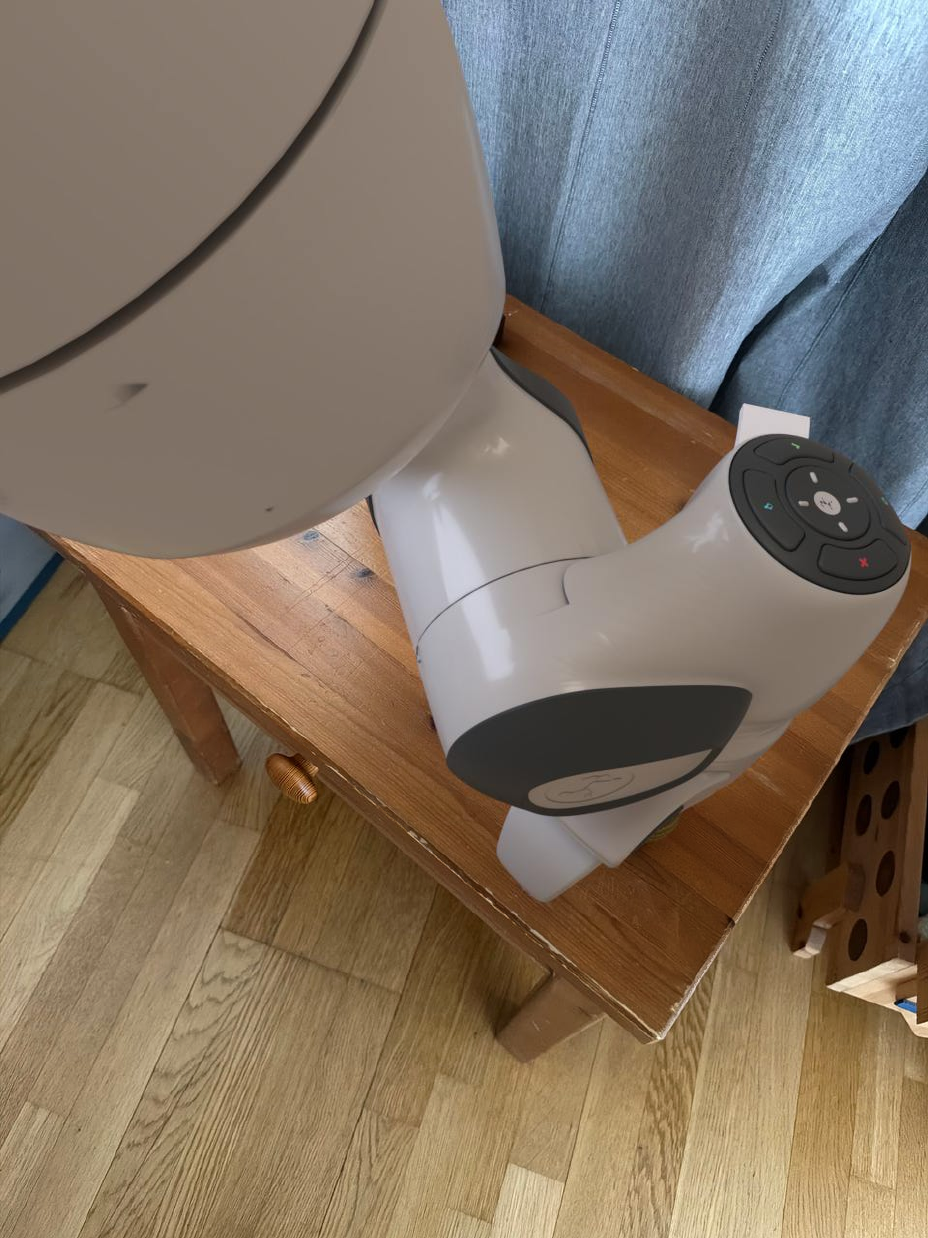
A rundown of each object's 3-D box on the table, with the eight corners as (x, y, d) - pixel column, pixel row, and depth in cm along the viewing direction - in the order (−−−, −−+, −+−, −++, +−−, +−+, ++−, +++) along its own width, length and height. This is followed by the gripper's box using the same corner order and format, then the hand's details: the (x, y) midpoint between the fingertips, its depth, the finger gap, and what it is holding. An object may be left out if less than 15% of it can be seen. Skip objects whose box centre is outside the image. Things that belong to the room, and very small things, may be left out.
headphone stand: (745, 521, 71) (810, 417, 61) (742, 584, 68) (810, 485, 58) (688, 509, 71) (743, 402, 61) (682, 571, 68) (740, 470, 58)
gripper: (756, 544, 49) (680, 659, 61) (494, 785, 41) (465, 864, 53) (851, 620, 47) (753, 724, 59) (596, 888, 39) (542, 946, 51)
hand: (615, 791), depth 56 cm, fingers closed on sculpture, 4 cm apart
